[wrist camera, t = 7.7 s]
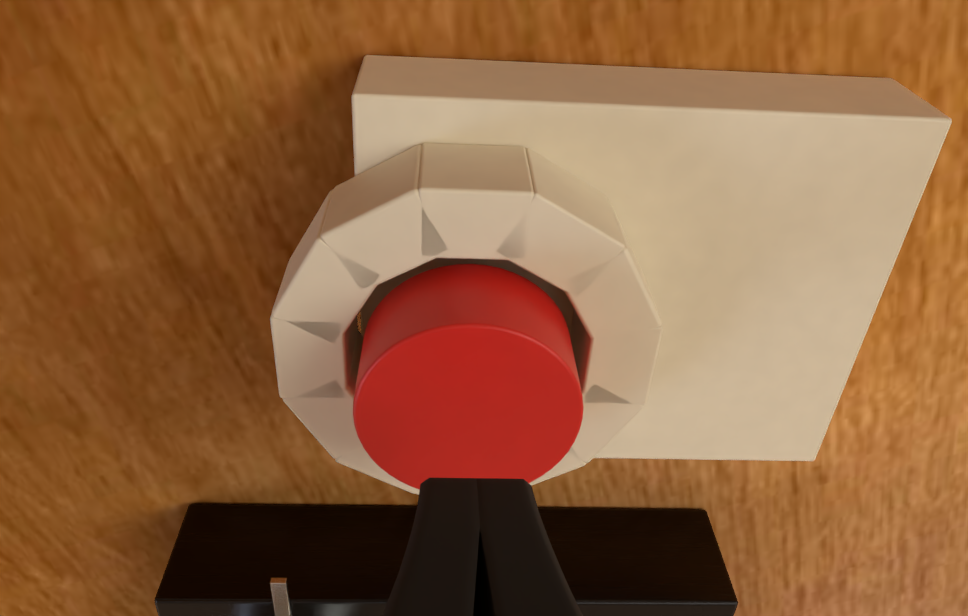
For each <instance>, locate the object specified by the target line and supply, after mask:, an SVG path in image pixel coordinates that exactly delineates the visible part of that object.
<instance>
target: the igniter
mask: <svg viewBox="0 0 968 616" xmlns="http://www.w3.org/2000/svg"><path fill="white" fill-rule="evenodd" d="M351 101H352V124H353V148H354V172H355V177H353V178H351V179H349V180H347V181H345V182H343V183H341V184H339V185H337V186H336V187H335V188H334V189H333V190H331V191H330V192H329V193H328V195H327V197H326V198H325V200H324V202H323V204H322V205H321V207H320V209H319V210H318V212H317V214H316V215H315V217H314V219H313V220H312V222H311V224H310V226H309V227H308V229H307V231H306V232H305V234H304V236H303V237H302V239H301V241H300V243H299V244H298V246H297V248H296V249H295V251H294V253H293V254H292V256H291V258H290V259H289V262H288V265H287V268H286V271H285V274H284V277H283V280H282V283H281V286H280V289H279V292H278V295H277V297H276V300H275V303H274V306H273V309H272V314H271V317H270V323H271V332H272V340H273V348H274V356H275V365H276V373H277V381H278V389H279V396H280V398H283V401H284V402H285V404H286V405H287V406H288V407H289V408H290V409H291V410H292V412H293V413H294V414H295V415H296V416H297V417H298V418H299V420H300V421H301V422H302V423H303V424H304V425H305V426H306V428H307V429H308V430H309V431H310V432H311V433H312V434H313V436H314V437H315V438H316V439H317V440H318V441H319V442H320V444H321V445H322V446H323V447H324V448H325V449H326V450H327V452H328V453H329V454H330V455H331V456H332V457H333V458H335V459H336V462H338V463H340V464H342V465H345V466H347V467H350V468H352V469H355V470H357V471H359V472H362V473H364V474H367V475H369V476H372V477H374V478H376V479H379V480H381V481H384V482H386V483H388V484H391V485H393V486H396V487H398V488H401V489H403V490H405V491H408V492H410V493H413V494H415V493H416V494H418V495H419V492H420V490H419V489H416V488H414V487H411V486H409V485H407V484H405V483H403V482H400V481H399V480H397V479H395V478H394V477H392V476H391V475H389V474H388V473H386V472H385V471H384V470H383V469H381V468H380V467H379V466H378V465H377V464H376V463H375V462H374V461H373V460H372V459H371V458H370V456H369V455H368V453H367V452H366V451H365V449H364V448H363V446H362V444H361V442H360V440H359V438H358V435H357V432H356V429H355V426H354V420H353V401H354V394H355V388H356V382H357V375H358V369H359V363H360V357H361V350H362V344H363V338H364V334H365V329H366V326H367V324H368V321H369V319H370V317H371V315H372V313H373V312H374V310H375V308H376V307H377V306H378V304H379V303H380V302H381V301H382V299H383V298H384V297H385V296H386V295H387V294H388V293H390V292H391V291H392V290H393V289H394V288H395V287H397V286H398V285H400V284H401V283H402V282H404V281H406V280H407V279H409V278H411V277H413V276H415V275H417V274H420V273H422V272H425V271H427V270H430V269H434V268H438V267H442V266H448V265H455V264H480V265H488V266H493V267H498V268H502V269H505V270H508V271H511V272H514V273H516V274H518V275H520V276H522V277H524V278H526V279H528V280H529V281H531V282H533V283H534V284H536V285H537V286H538V287H540V288H541V289H542V290H543V291H544V292H546V293H547V294H548V295H549V296H550V298H551V299H552V300H553V301H554V302H555V303H556V305H557V306H558V308H559V309H560V311H561V312H562V314H563V317H564V319H565V321H566V323H567V327H568V330H569V334H570V339H571V344H572V348H573V353H574V358H575V363H576V367H577V372H578V377H579V382H580V386H581V391H582V396H583V407H584V408H583V419H582V423H581V427H580V430H579V433H578V435H577V437H576V439H575V442H574V443H573V445H572V446H571V448H570V450H569V451H568V453H567V454H566V455H565V456H564V457H563V458H562V460H561V461H560V462H559V463H558V464H556V465H555V466H554V467H553V468H552V469H551V470H549V471H548V472H547V473H545V474H544V475H543V476H541V477H539V478H538V479H536V480H534V481H532V482H530V483H529V484H530V485H531V486H532V485H534V484H537V483H540V482H542V481H545V480H548V479H550V478H553V477H556V476H558V475H561V474H564V473H566V472H569V471H572V470H574V469H577V468H580V467H582V466H585V465H586V463H589V462H590V461H591V460H592V459H593V458H632V459H699V460H766V461H814V460H815V458H816V456H817V453H818V451H819V448H820V446H821V443H822V441H823V438H824V436H825V433H826V431H827V428H828V426H829V423H830V421H831V419H832V416H833V414H834V411H835V409H836V406H837V404H838V401H839V399H840V396H841V394H842V391H843V389H844V387H845V384H846V382H847V379H848V377H849V374H850V372H851V369H852V367H853V364H854V362H855V359H856V357H857V355H858V352H859V350H860V347H861V345H862V342H863V340H864V337H865V335H866V332H867V330H868V327H869V325H870V322H871V320H872V318H873V315H874V313H875V310H876V308H877V305H878V303H879V300H880V298H881V295H882V293H883V290H884V288H885V286H886V283H887V281H888V278H889V276H890V273H891V271H892V268H893V266H894V263H895V261H896V258H897V256H898V253H899V251H900V249H901V246H902V244H903V241H904V239H905V236H906V234H907V231H908V229H909V226H910V224H911V221H912V219H913V217H914V214H915V212H916V209H917V207H918V204H919V202H920V199H921V197H922V194H923V192H924V189H925V187H926V184H927V182H928V180H929V177H930V175H931V172H932V170H933V167H934V165H935V162H936V160H937V157H938V155H939V152H940V150H941V148H942V145H943V143H944V140H945V138H946V135H947V133H948V130H949V128H950V125H951V123H952V120H951V118H950V117H948V116H947V115H945V114H944V113H942V112H941V111H939V110H938V109H936V108H935V107H933V106H932V105H930V104H929V103H928V102H926V101H925V100H923V99H922V98H920V97H919V96H917V95H916V94H914V93H913V92H911V91H910V90H908V89H907V88H905V87H904V86H903V85H901V84H900V83H898V82H897V81H895V80H894V79H892V78H874V77H851V76H829V75H806V74H784V73H761V72H739V71H716V70H694V69H671V68H649V67H626V66H604V65H581V64H559V63H536V62H514V61H491V60H468V59H446V58H423V57H401V56H378V55H366V56H364V59H363V62H362V65H361V68H360V71H359V74H358V78H357V81H356V84H355V87H354V90H353V93H352V96H351ZM359 311H360V314H361V333H360V332H359V330H358V326H357V314H358V313H359Z"/></svg>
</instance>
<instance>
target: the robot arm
mask: <svg viewBox="0 0 968 616" xmlns="http://www.w3.org/2000/svg"><path fill="white" fill-rule="evenodd" d="M382 616H583V615H582V613H581V611H580V609H579V607H578V605H577V602H576V600H575V598H574V596H573V594H572V592H571V590H570V588H569V585H568V583H567V581H566V579H565V577H564V574H563V572H562V570H561V567H560V565H559V562H558V560H557V558H556V555H555V553H554V551H553V548H552V546H551V543H550V541H549V538H548V535H547V533H546V530H545V528H544V525H543V522H542V519H541V516H540V513H539V510H538V507H537V504H536V501H535V498H534V494H533V491H532V487H531V485H530V484H529V483H528V482H527V481H526V480H524V479H500V478H428V479H427V480H425V481H424V482H422V483H421V484H420V492H419V500H418V505H417V510H416V514H415V519H414V523H413V527H412V531H411V534H410V538H409V541H408V545H407V548H406V551H405V554H404V557H403V560H402V564H401V567H400V570H399V573H398V576H397V578H396V581H395V583H394V586H393V589H392V591H391V594H390V597H389V599H388V602H387V605H386V607H385V610H384V613H383V615H382Z"/></svg>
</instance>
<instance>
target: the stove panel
mask: <svg viewBox="0 0 968 616" xmlns="http://www.w3.org/2000/svg"><path fill="white" fill-rule="evenodd" d="M416 510H417V506H329V505H239V504H190V505H189V506H188V509H187V512H186V515H185V517H184V520H183V523H182V526H181V528H180V531H179V534H178V537H177V539H176V542H175V545H174V548H173V550H172V553H171V556H170V559H169V561H168V564H167V567H166V570H165V572H164V575H163V578H162V581H161V583H160V586H159V589H158V592H157V594H156V597H155V605H156V608H157V612H158V615H159V616H382V615H383V613H384V610H385V607H386V605H387V602H388V599H389V597H390V594H391V591H392V589H393V586H394V583H395V581H396V578H397V576H398V573H399V570H400V567H401V564H402V560H403V557H404V554H405V551H406V548H407V545H408V541H409V538H410V534H411V531H412V527H413V523H414V519H415V514H416ZM538 510H539V513H540V516H541V519H542V522H543V525H544V528H545V530H546V533H547V535H548V538H549V541H550V543H551V546H552V548H553V551H554V553H555V555H556V558H557V560H558V562H559V565H560V567H561V570H562V572H563V574H564V577H565V579H566V581H567V583H568V585H569V588H570V590H571V592H572V594H573V596H574V598H575V600H576V602H577V605H578V607H579V609H580V611H581V613H582V615H583V616H733V615H734V613H735V610H736V608H737V605H738V601H737V598H736V595H735V592H734V590H733V587H732V584H731V581H730V578H729V575H728V572H727V569H726V566H725V564H724V561H723V558H722V555H721V552H720V549H719V546H718V543H717V541H716V538H715V535H714V532H713V529H712V526H711V523H710V520H709V517H708V515H707V512H706V511H705V510H689V509H599V508H538Z"/></svg>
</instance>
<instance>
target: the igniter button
mask: <svg viewBox="0 0 968 616" xmlns="http://www.w3.org/2000/svg"><path fill="white" fill-rule="evenodd" d="M583 408H584V407H583V396H582V391H581V386H580V382H579V377H578V372H577V367H576V363H575V358H574V353H573V348H572V344H571V339H570V334H569V330H568V327H567V323H566V321H565V319H564V317H563V314H562V312H561V311H560V309H559V308H558V306H557V305H556V303H555V302H554V301H553V300H552V299H551V298H550V296H549V295H548V294H547V293H546V292H544V291H543V290H542V289H541V288H540V287H538V286H537V285H536V284H534V283H533V282H531V281H529V280H528V279H526V278H524V277H522V276H520V275H518V274H516V273H514V272H511V271H508V270H505V269H502V268H498V267H493V266H488V265H480V264H455V265H448V266H442V267H438V268H434V269H430V270H427V271H425V272H422V273H420V274H417V275H415V276H413V277H411V278H409V279H407V280H406V281H404V282H402V283H401V284H400V285H398V286H397V287H395V288H394V289H393V290H392V291H391V292H390V293H388V294H387V295H386V296H385V297H384V298H383V299H382V301H381V302H380V303H379V304H378V306H377V307H376V308H375V310H374V312H373V313H372V315H371V317H370V319H369V321H368V324H367V326H366V329H365V334H364V338H363V344H362V350H361V357H360V363H359V369H358V375H357V382H356V388H355V394H354V401H353V420H354V426H355V429H356V432H357V435H358V438H359V440H360V442H361V444H362V446H363V448H364V449H365V451H366V452H367V453H368V455H369V456H370V458H371V459H372V460H373V461H374V462H375V463H376V464H377V465H378V466H379V467H380V468H381V469H383V470H384V471H385V472H386V473H388V474H389V475H391V476H392V477H394V478H395V479H397V480H399V481H400V482H403V483H405V484H407V485H409V486H411V487H414V488H416V489H419V490H420V484H421V483H422V482H424V481H425V480H427V479H428V478H500V479H524V480H526V481H527V482H528V483H530V482H532V481H534V480H536V479H538V478H539V477H541V476H543V475H544V474H545V473H547V472H548V471H549V470H551V469H552V468H553V467H554V466H555V465H556V464H558V463H559V462H560V461H561V460H562V458H563V457H564V456H565V455H566V454H567V453H568V451H569V450H570V448H571V446H572V445H573V443H574V442H575V439H576V437H577V435H578V433H579V430H580V427H581V423H582V419H583Z"/></svg>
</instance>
